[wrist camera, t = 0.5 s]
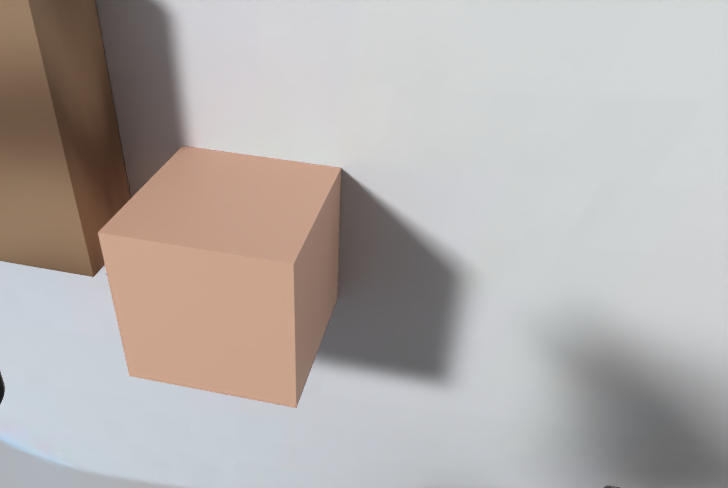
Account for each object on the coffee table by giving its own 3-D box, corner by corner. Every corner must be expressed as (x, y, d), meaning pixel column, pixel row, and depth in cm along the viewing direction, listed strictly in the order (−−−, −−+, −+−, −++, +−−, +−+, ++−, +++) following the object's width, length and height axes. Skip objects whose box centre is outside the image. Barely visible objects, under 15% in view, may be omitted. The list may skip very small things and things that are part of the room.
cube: (337, 297, 25) (296, 407, 20) (199, 274, 26) (129, 375, 21) (341, 166, 22) (293, 264, 17) (183, 144, 22) (97, 232, 18)
